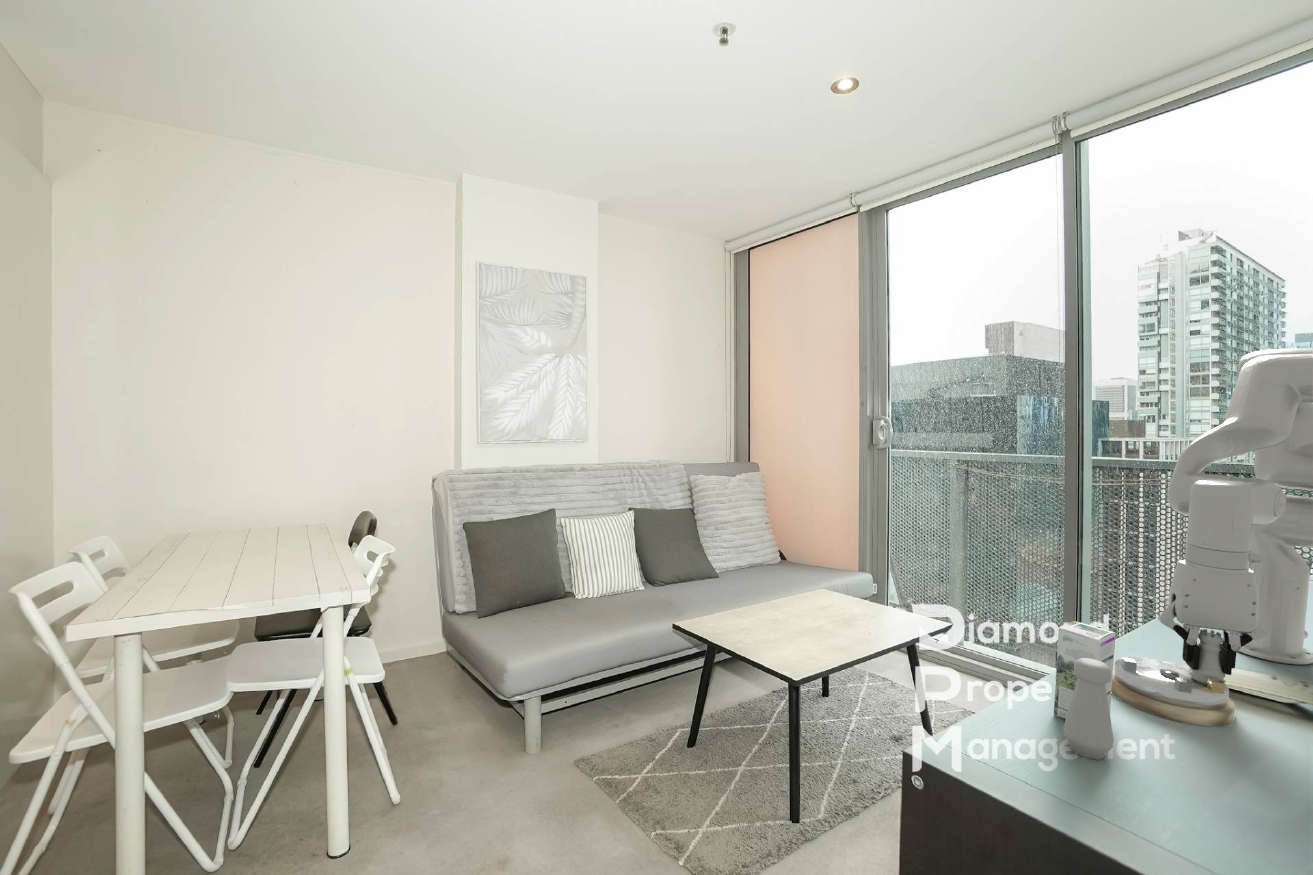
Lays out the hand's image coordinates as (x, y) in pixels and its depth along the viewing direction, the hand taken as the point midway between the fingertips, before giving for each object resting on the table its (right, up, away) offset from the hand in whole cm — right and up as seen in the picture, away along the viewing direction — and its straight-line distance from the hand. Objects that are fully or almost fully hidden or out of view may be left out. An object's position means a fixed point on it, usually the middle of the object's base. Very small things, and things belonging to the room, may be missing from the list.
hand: (1207, 667), depth 98 cm
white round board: (-5, -4, +2) cm, 6 cm away
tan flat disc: (-5, -6, +2) cm, 8 cm away
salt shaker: (-29, -7, -13) cm, 32 cm away
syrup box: (-24, -7, -4) cm, 25 cm away
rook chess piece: (0, -2, 0) cm, 2 cm away
